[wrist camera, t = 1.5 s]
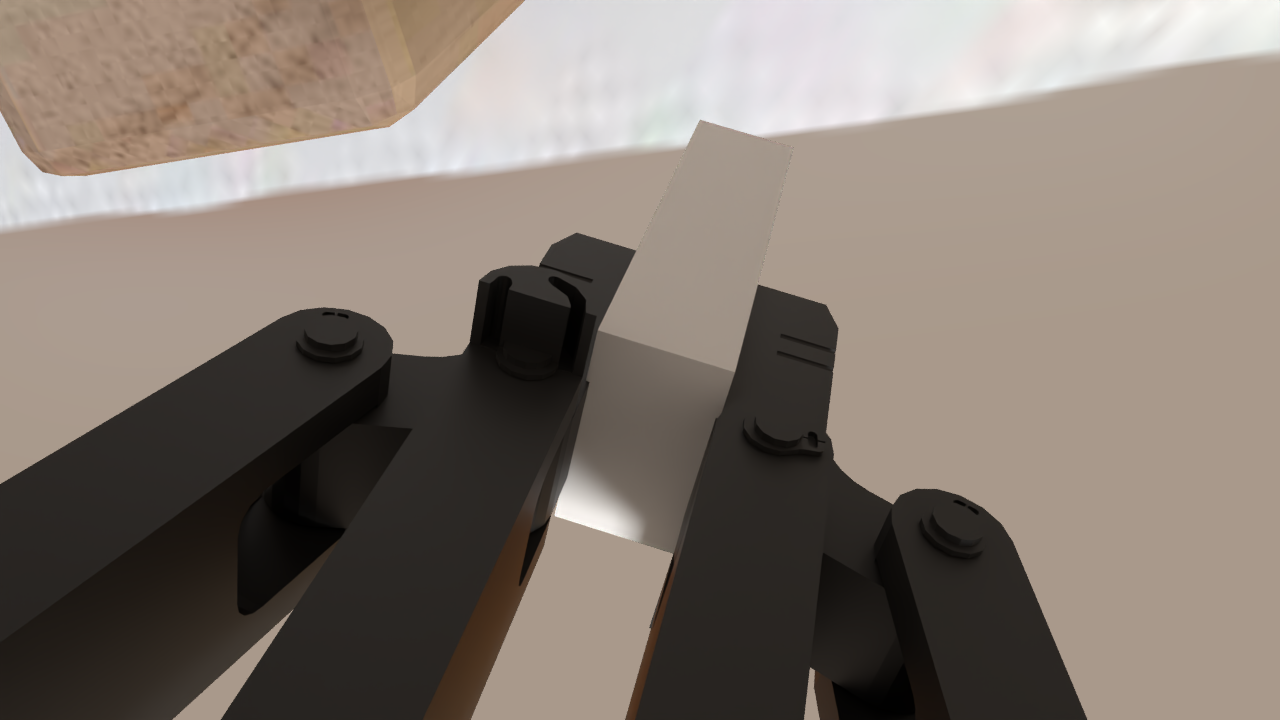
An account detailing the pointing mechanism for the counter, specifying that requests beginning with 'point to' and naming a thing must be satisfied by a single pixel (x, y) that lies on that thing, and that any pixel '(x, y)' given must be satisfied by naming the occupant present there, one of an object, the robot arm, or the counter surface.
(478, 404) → the robot arm
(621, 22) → the counter surface
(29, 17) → the wooden block
